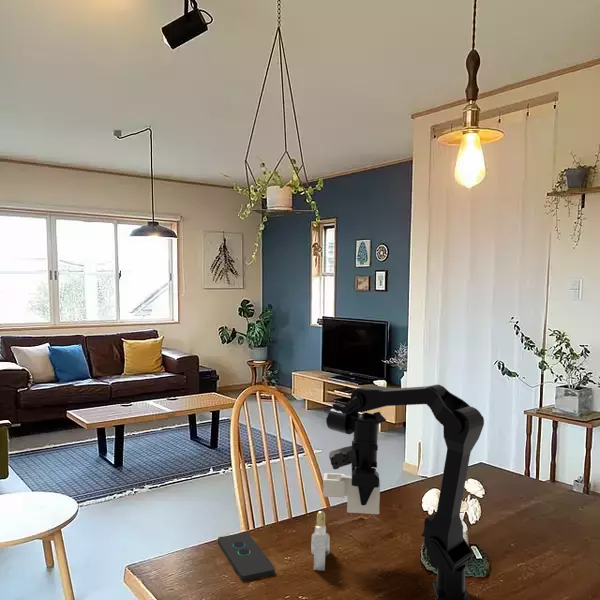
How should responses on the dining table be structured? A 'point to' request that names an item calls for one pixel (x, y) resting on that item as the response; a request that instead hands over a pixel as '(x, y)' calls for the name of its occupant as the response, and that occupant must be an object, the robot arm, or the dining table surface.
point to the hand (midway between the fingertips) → (363, 502)
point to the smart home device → (245, 556)
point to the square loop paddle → (350, 493)
